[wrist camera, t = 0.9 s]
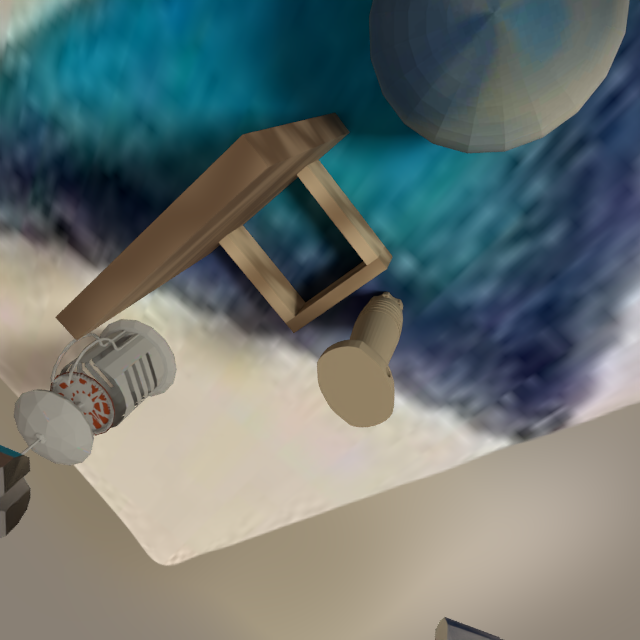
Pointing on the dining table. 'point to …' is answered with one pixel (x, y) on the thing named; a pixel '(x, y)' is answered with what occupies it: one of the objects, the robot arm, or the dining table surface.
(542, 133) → the decorative ball
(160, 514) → the dining table surface
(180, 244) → the cleat board
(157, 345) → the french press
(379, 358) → the handle
